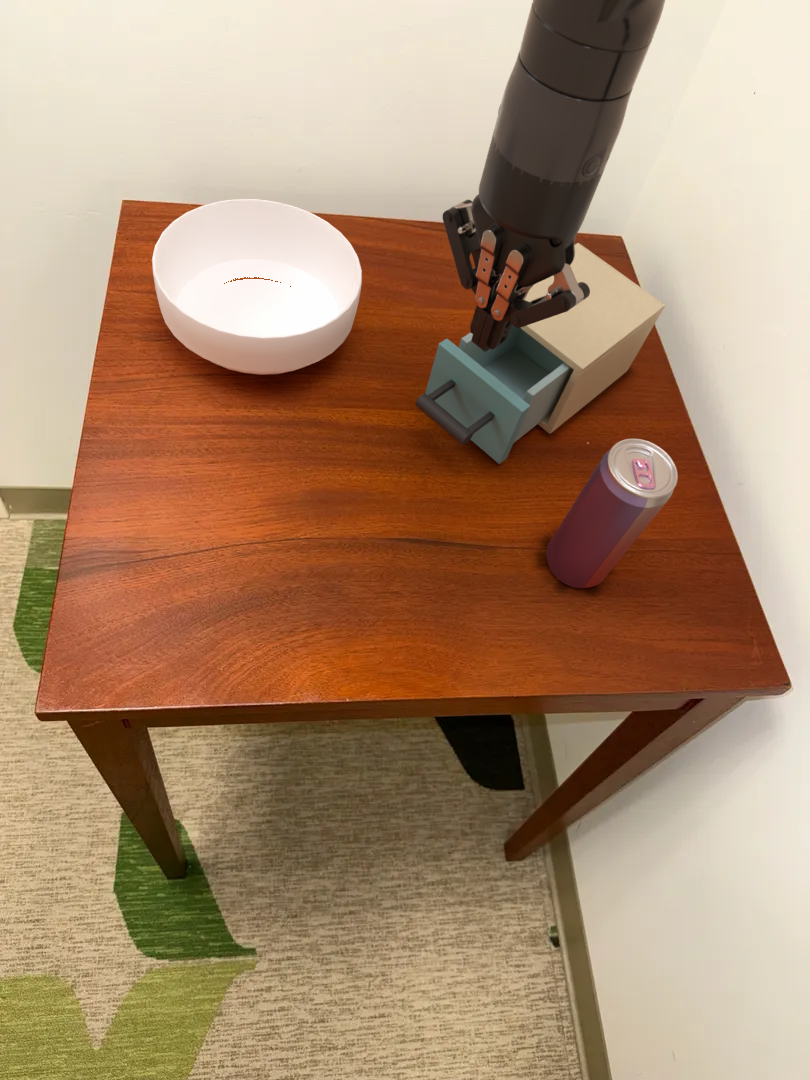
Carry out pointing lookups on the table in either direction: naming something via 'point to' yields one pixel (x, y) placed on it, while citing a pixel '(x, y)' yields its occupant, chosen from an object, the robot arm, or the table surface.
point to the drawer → (493, 390)
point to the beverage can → (611, 512)
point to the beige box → (594, 331)
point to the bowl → (256, 285)
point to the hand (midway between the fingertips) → (484, 342)
